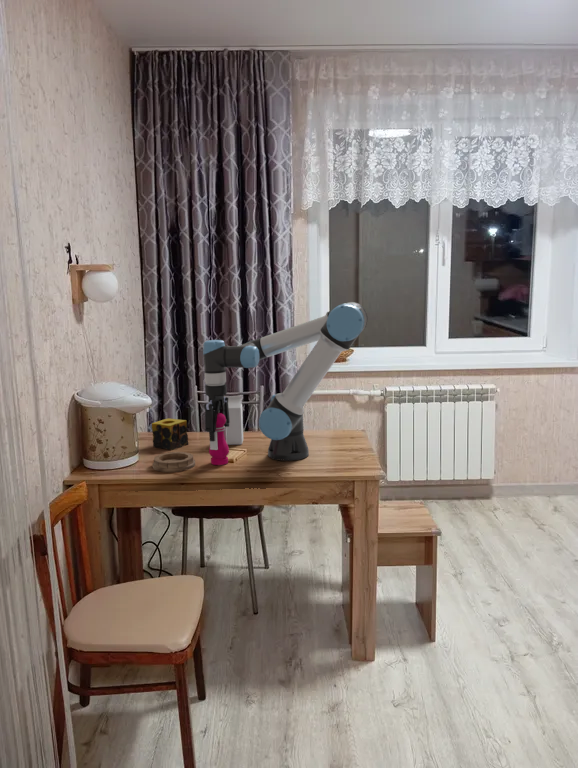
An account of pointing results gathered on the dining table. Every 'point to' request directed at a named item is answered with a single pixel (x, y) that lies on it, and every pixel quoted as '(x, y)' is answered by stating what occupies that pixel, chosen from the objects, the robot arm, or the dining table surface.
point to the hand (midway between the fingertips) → (218, 446)
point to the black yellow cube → (169, 434)
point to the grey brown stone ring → (173, 462)
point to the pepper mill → (220, 443)
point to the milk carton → (235, 420)
